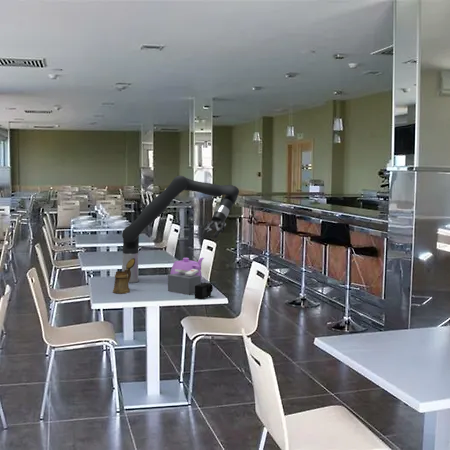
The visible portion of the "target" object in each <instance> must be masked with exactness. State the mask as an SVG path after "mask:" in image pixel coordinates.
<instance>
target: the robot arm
mask: <svg viewBox="0 0 450 450" xmlns="http://www.w3.org/2000/svg"><path fill="white" fill-rule="evenodd" d="M183 191H185V192H186V191H189V192H190V191H191V192H197V193H199V194H204V195H207V196H212V197H216V198H221V197H222V196H224V197H223V199H222V200H221V201H220V203H219V205H218V207H217V208H216V210H215V212H214V213H213V215H212V217H211V220H210V221H209V220H206V221H205V223H204V224H203V226H202V228H201V229H202V230H203V231H202V234H201V235H202V237H203V238H206V236H207V234H208V232H209V231H212V230H216V231H215V232H214V234H213V238H214V239H217V238H218V236H219V235H220V234H221V233H222V234H223V233H225V230H226V227H227V223H226V222H225V221H226V220H227V218H228V216H229V213H230V211H231V209H232V208H233V205H234V204H235V203H236V201H237V199H238V196H239V194H240V190H239V188H238V187H237V186H236V185H233V184H223V185H220V184H216V183H210V182H203V181H198V180H193V179H190V178H188V177H186V176H185V175H177V176H175V177H174V178H173V179H172V181H171V182H170V183H169V185H168V186H167V187H166V188H165V189H164V190H163V191H162V192H161V193H160V194H158V195H157V196H156V197H155V198H154V199H152V200H151V201H150V202H149V203H148V204H147V205H146V206H145V208H144V209H143V210H142V212H141V213H140V214H139V216H137V218H136V219H135V220H133V222H132V223H130V224H129V225H128V226H126V227H125V228H124V229H123V231H122V234H121V237H122V240H123V241H122V242H123V244H122V245H123V246H122V265H121V271H125V270H126V265H127V262H128V261H129V260H131V259H132V258H135V264H134V266H133V267H132V268H131V269H130V271H131V277H130V280H129V283H130V284H131V283H132V284H133V283H137V282H139V247H140V246H139V245H140V243H139V242H140V238H139V237H140V235H141V234H142V232H143V231H144V230H145V229H146V228H147V227H148V226H150V224H152V223H153V222H154V221H155V220H157V219H158V218H159V217H160V216H161V215H162V214H163V213H164V211H166V209H167V208H168V207H169V205H170V204H171V202H173V200H174V199H175V198H177V196H179V195H180V194H181V193H183ZM127 275H128V274H127ZM127 278H128V277H127ZM129 283H128V284H129Z"/></svg>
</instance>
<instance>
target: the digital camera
mask: <svg viewBox="0 0 450 450" xmlns="http://www.w3.org/2000/svg"><path fill="white" fill-rule="evenodd" d="M213 290H214V286H213V284H212V283H210V282H202V283H201V284H199V285H196V286H195V293H194V299H197V300H204V299H206V298H208V296H209V297H211V296H212V292H213Z"/></svg>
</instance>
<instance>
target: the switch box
mask: <svg viewBox="0 0 450 450" xmlns="http://www.w3.org/2000/svg"><path fill="white" fill-rule="evenodd" d="M201 280H202V278H201V276H198V275H192V276H187V275H185V273H184V274H183V273H176V274H171V275H170V274H167V291H168V292H170V293H171V292H172V293H176V294H182V295H187V296H188V295H189V296H191V295H195V286H196V285H199V284H201Z"/></svg>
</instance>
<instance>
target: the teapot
mask: <svg viewBox="0 0 450 450" xmlns="http://www.w3.org/2000/svg"><path fill="white" fill-rule="evenodd" d="M204 259H205V257H200V258H199V259H198V261H195V260H191V259H190V258H189V257H183V258H182V260H175V261H174V262H173V264H172V267H171V270H170V273H169V275H171V274H176V273H178V272H177V271H175V269H179V270H186V271H190V270H192V269H196V270H198V271H199V272H197V273H196V274H195V275H198V276H201V279H203V277H202V262H203V260H204Z"/></svg>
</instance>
